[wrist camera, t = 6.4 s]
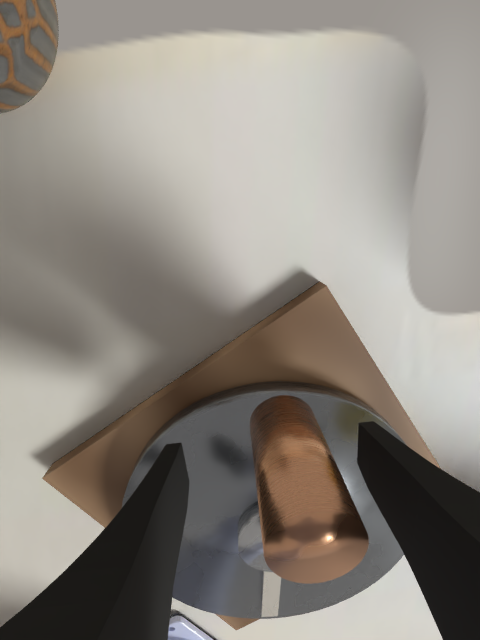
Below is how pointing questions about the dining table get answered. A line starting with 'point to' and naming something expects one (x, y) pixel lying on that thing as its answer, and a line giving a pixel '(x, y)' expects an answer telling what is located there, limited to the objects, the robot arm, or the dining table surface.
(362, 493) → the crank wheel
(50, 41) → the vase
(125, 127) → the dining table surface
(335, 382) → the base
